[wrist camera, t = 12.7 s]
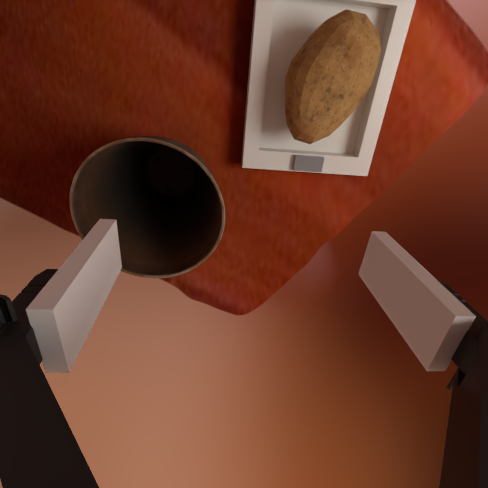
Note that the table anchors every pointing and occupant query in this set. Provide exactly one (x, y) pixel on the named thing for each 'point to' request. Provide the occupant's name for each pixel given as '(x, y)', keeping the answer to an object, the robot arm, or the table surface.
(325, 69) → the potato
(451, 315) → the robot arm
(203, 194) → the plant pot
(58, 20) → the table surface
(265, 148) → the white rimmed tray
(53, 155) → the table surface
